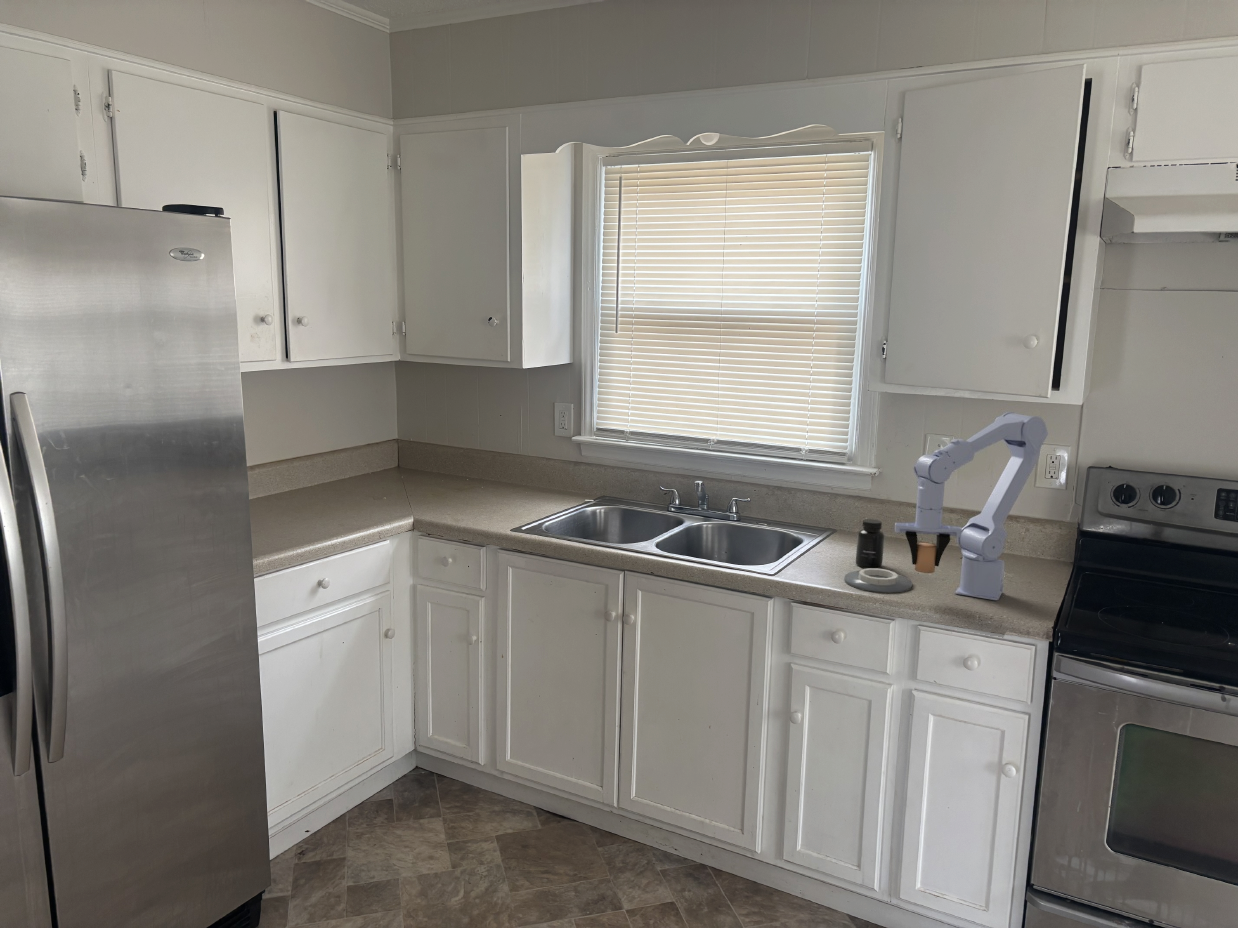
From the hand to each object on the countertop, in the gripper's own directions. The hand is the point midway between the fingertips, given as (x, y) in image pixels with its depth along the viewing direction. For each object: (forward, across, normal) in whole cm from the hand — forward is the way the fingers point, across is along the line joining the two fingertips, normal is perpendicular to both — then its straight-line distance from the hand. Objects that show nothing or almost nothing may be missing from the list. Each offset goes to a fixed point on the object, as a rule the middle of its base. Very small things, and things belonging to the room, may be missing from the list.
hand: (925, 564), depth 210 cm
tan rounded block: (+2, 0, 0) cm, 2 cm away
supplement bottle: (+8, +11, -24) cm, 28 cm away
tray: (+8, +10, -9) cm, 16 cm away
